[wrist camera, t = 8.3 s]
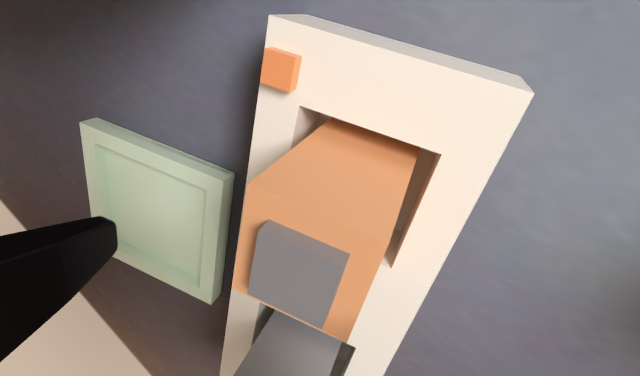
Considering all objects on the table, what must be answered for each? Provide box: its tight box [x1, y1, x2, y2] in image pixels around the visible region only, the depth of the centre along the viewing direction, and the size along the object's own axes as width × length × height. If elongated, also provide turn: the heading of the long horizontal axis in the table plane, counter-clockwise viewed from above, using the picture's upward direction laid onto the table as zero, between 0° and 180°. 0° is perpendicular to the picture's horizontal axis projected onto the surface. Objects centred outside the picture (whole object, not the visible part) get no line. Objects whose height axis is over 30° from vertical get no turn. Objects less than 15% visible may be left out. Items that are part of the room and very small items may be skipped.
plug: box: [232, 117, 420, 343], centre depth 13 cm, size 4×4×9 cm
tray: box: [79, 117, 235, 305], centre depth 23 cm, size 10×10×1 cm
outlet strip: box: [220, 14, 535, 376], centre depth 18 cm, size 22×9×4 cm, turn 166°
